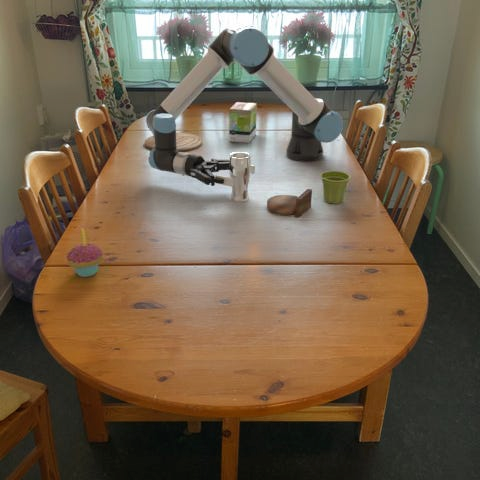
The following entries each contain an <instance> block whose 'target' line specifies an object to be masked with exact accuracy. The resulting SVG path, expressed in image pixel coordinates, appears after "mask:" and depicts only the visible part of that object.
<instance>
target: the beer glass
mask: <svg viewBox="0 0 480 480" xmlns="http://www.w3.org/2000/svg"><path fill="white" fill-rule="evenodd" d="M251 165H252V163H251V154H250V153H248V152H243V151H237V152H236V151H235V152H232V153H230V154H229V170H228V173H229V177H231V178H234V187H231V193H230V200H231V201H232V202H235V203H245V202H247V201H249V200H250V196H249V183H250V177H251V173H250V172H251Z"/></svg>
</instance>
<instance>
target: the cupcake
mask: <svg viewBox="0 0 480 480" xmlns="http://www.w3.org/2000/svg"><path fill="white" fill-rule="evenodd" d="M81 226H82V227H81V236H82V244H80V245H76V246H74V247H73V248H71V249H70V250H69V251H68V253H67V255H66V262H67V264H68V266H69V267H71V268H73V269H74V270H75V272H76V274H77V275H78V276H79V277H82V278H83V277H84V278H87V277H92V276H94V275H95V274H96V273H97V272H98V267H99V264H100V262H102V261H103V259H104V253H103V251H102V249H101V248H100V247H99V246H97V245H95V244H90V243H87V242H86V234H85V232H86V231H85V227H84V224H82V225H81Z"/></svg>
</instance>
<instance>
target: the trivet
mask: <svg viewBox="0 0 480 480" xmlns="http://www.w3.org/2000/svg"><path fill="white" fill-rule="evenodd" d="M176 144H177V151H178V152H184V153H186V152H190V151H194V150H197V149H199V148H200V147H201V146H202V144H203V140H202V138H201V137H200V136H198V135H196V134H192V133H186V132H176ZM144 147H145V148H147V150H150V151H151V150H152V149H153V148H155V142H154V135H151V136H149V137H147V138H146V139H145V140H144Z"/></svg>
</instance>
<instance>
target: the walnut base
mask: <svg viewBox="0 0 480 480" xmlns="http://www.w3.org/2000/svg"><path fill="white" fill-rule="evenodd" d="M312 196H313V189H310V188H307V189H306V190H305V191H303V192H302V193H301V194H300V195H299V196H296V195H290V194H280V195H279V194H277V195H274V196H271V197H269V198H267V201H266V209H267V210H268V212H269V213H271V214H273V215H277V216H284V217H285V216H286V217H291V216H295V217H296V218H301V217H303V215H304V214H306V212H308V211H309V210H310V209H311V207H312Z"/></svg>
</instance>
